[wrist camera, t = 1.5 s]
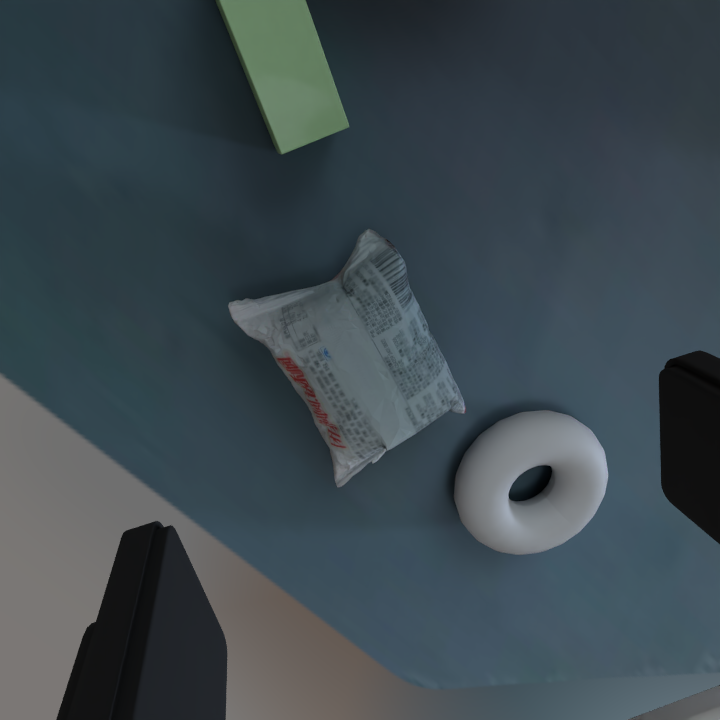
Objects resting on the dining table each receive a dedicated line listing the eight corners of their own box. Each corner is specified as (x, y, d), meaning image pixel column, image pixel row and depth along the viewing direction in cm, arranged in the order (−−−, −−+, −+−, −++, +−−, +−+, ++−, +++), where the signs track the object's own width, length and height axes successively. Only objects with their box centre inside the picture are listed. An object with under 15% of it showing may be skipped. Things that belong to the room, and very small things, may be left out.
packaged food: (330, 461, 34) (343, 510, 30) (226, 295, 29) (224, 322, 25) (456, 393, 34) (488, 431, 30) (373, 216, 30) (397, 229, 25)
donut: (495, 377, 34) (419, 509, 37) (521, 400, 31) (435, 543, 34) (615, 431, 38) (538, 549, 40) (650, 456, 34) (563, 583, 37)
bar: (202, -32, 24) (195, -59, 21) (271, -59, 24) (274, -91, 21) (277, 153, 28) (281, 155, 24) (337, 128, 28) (349, 126, 24)
